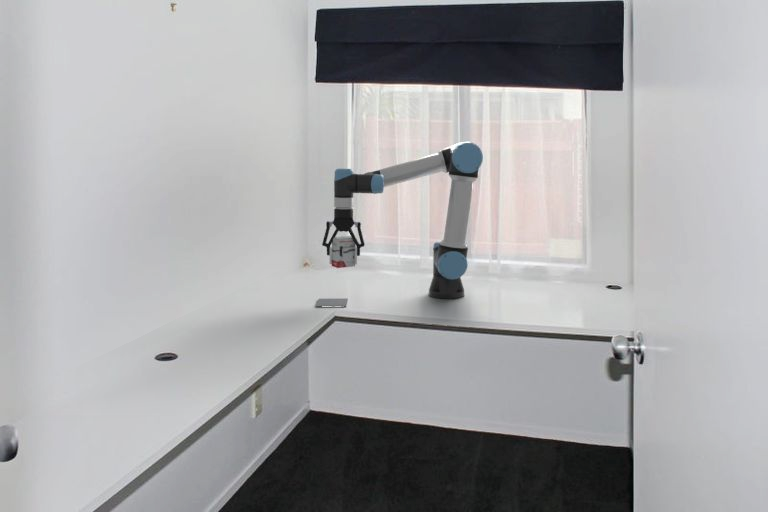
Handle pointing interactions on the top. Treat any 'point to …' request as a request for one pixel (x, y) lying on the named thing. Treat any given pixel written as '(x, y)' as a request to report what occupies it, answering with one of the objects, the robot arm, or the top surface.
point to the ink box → (343, 252)
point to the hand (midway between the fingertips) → (343, 263)
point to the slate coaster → (332, 302)
